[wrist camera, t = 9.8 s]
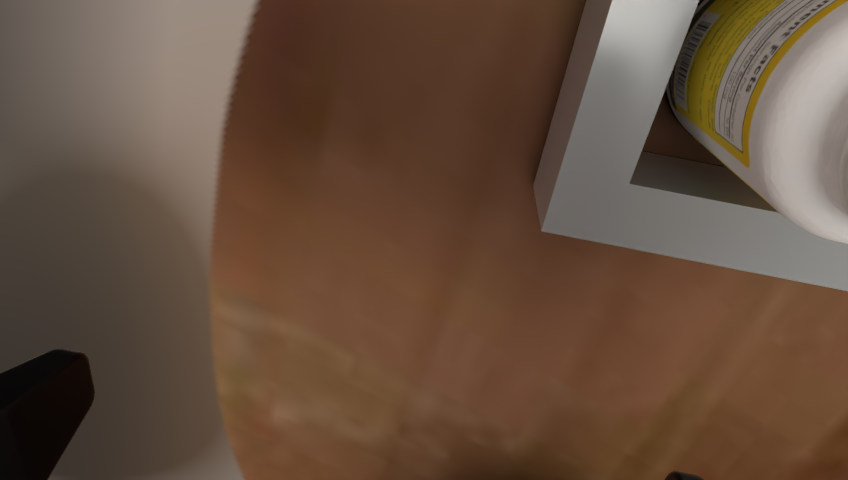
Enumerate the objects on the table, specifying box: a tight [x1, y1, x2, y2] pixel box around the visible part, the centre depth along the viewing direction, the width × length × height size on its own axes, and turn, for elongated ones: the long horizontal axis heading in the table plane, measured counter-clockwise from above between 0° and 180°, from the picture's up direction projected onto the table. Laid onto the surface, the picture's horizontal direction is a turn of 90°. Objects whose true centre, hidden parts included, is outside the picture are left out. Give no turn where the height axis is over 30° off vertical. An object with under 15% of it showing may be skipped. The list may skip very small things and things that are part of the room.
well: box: [533, 0, 848, 291], centre depth 15 cm, size 11×11×4 cm
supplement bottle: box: [666, 0, 848, 244], centre depth 12 cm, size 5×5×10 cm
